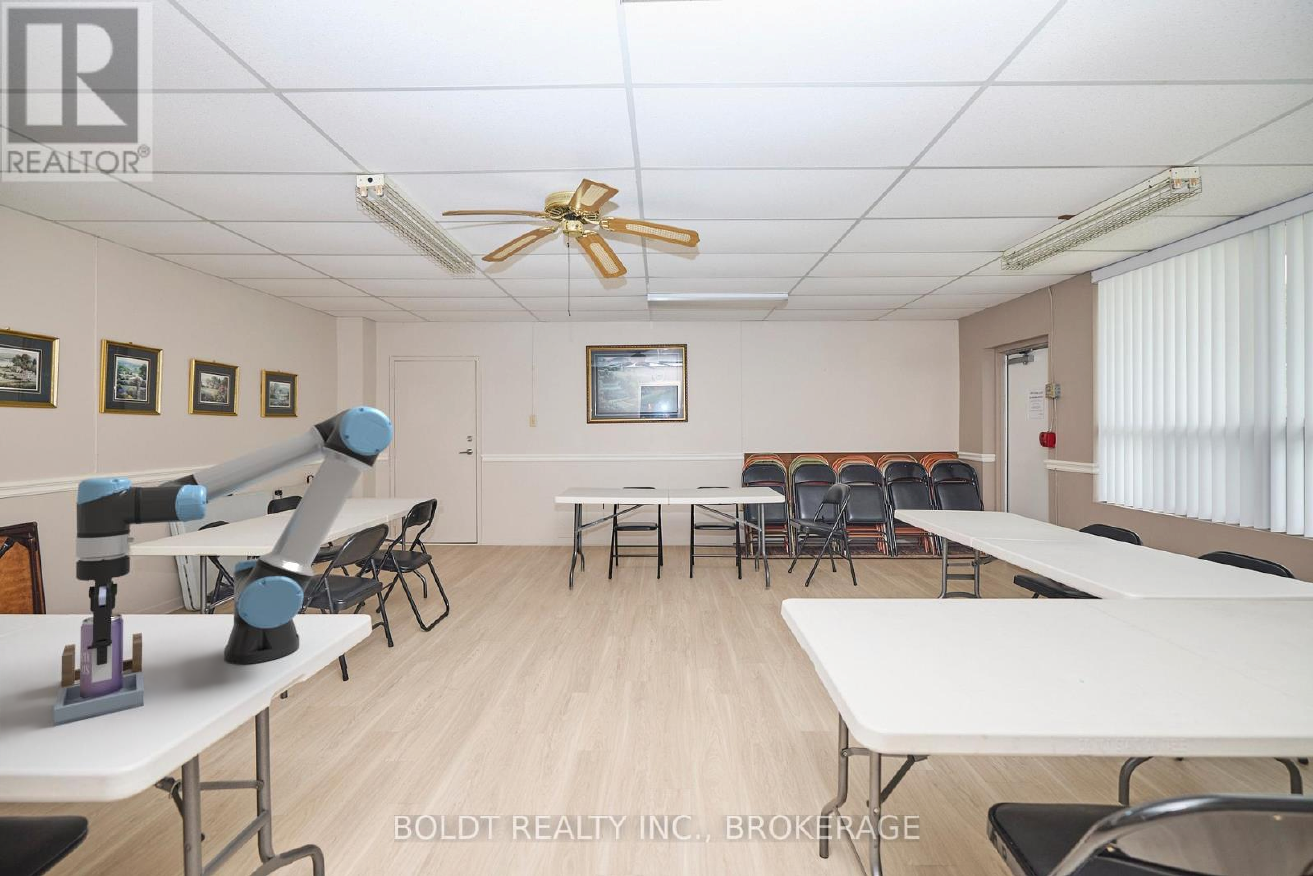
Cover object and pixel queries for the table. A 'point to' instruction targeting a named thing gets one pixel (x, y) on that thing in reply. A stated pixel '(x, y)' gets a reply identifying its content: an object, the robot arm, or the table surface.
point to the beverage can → (86, 686)
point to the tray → (98, 701)
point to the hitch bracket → (72, 675)
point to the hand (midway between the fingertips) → (102, 674)
